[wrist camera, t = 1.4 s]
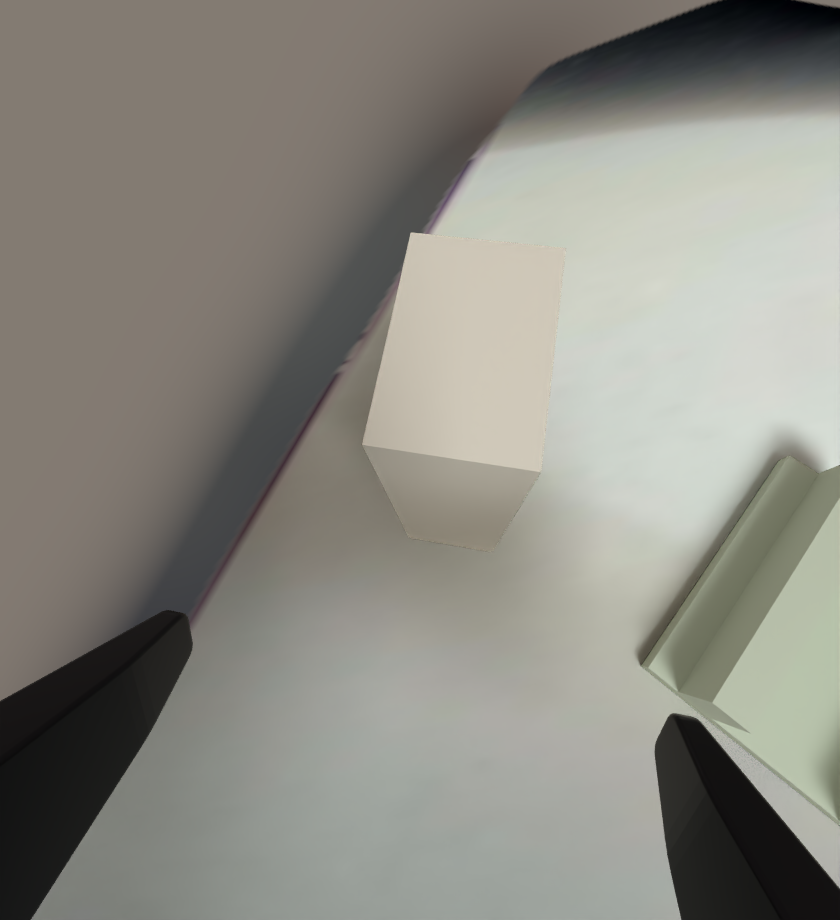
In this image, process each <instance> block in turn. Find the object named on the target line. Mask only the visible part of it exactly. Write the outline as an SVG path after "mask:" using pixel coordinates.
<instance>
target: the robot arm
mask: <svg viewBox="0 0 840 920" xmlns="http://www.w3.org/2000/svg"><path fill="white" fill-rule="evenodd" d="M192 645H193V642H192V636H191V631H190V625H189V620H188V617H187V616H186V614H184V613H180V612H175V611H169V610H166V611H163V612H160V613H159V614H157V615H155V616H153V617H151V618H149V619H148V620H146V621H144V622H142V623H140V624H139V625H137V626H135V627H133V628H131V629H130V630H128V631H126V632H124V633H122V634H120V635H119V636H117V637H115V638H113V639H111V640H110V641H108V642H106V643H104V644H103V645H101V646H99V647H97V648H95V649H93V650H92V651H90V652H88V653H86V654H84V655H83V656H81V657H79V658H77V659H75V660H74V661H72V662H70V663H68V664H67V665H64V666H63V667H61V668H59V669H57V670H55V671H54V672H52V673H50V674H48V675H47V676H45V677H43V678H41V679H39V680H37V681H36V682H34V683H32V684H30V685H28V686H26V687H25V688H23V689H21V690H19V691H18V692H16V693H14V694H12V695H11V696H8V697H7V698H5V699H3V700H1V701H0V920H31V919H32V917H33V915H34V914H35V912H36V911H37V909H38V908H39V906H40V904H41V903H42V901H43V900H44V898H45V897H46V895H47V893H48V892H49V890H50V889H51V887H52V886H53V884H54V883H55V881H56V879H57V878H58V876H59V875H60V873H61V872H62V870H63V868H64V867H65V865H66V864H67V862H68V861H69V859H70V858H71V856H72V854H73V853H74V851H75V850H76V848H77V847H78V845H79V843H80V842H81V840H82V839H83V837H84V836H85V834H86V833H87V831H88V829H89V828H90V826H91V825H92V823H93V822H94V820H95V818H96V817H97V815H98V814H99V812H100V811H101V809H102V808H103V806H104V804H105V803H106V801H107V800H108V798H109V797H110V795H111V793H112V792H113V790H114V789H115V787H116V786H117V784H118V782H119V781H120V779H121V778H122V776H123V775H124V773H125V772H126V770H127V768H128V767H129V765H130V764H131V762H132V761H133V759H134V757H135V756H136V754H137V753H138V751H139V750H140V748H141V747H142V745H143V743H144V742H145V740H146V738H147V737H148V735H149V733H150V732H151V730H152V728H153V726H154V724H155V723H156V721H157V719H158V717H159V715H160V713H161V711H162V709H163V707H164V705H165V703H166V701H167V699H168V697H169V695H170V694H171V692H172V690H173V688H174V686H175V684H176V682H177V680H178V678H179V676H180V674H181V672H182V670H183V668H184V666H185V664H186V663H187V661H188V659H189V657H190V654H191V651H192ZM655 761H656V769H657V777H658V786H659V794H660V802H661V810H662V818H663V826H664V834H665V842H666V849H667V855H668V860H669V865H670V870H671V875H672V880H673V884H674V889H675V893H676V898H677V902H678V907H679V911H680V916H681V920H840V888H839V887H838V886H837V885H836V883H835V882H834V881H833V880H832V879H831V877H830V876H829V875H828V874H827V873H826V871H825V870H824V869H823V868H822V867H821V865H820V864H819V863H818V862H817V861H816V859H815V858H814V857H813V856H812V855H811V853H810V852H809V851H808V850H807V849H806V847H805V846H804V845H803V844H802V843H801V841H800V840H799V839H798V838H797V837H796V835H795V834H794V833H793V832H792V831H791V829H790V828H789V827H788V826H787V825H786V823H785V822H784V821H783V820H782V819H781V817H780V816H779V815H778V814H777V813H776V811H775V810H774V809H773V808H772V807H771V805H770V804H769V803H768V802H767V801H766V799H765V798H764V797H763V796H762V795H761V793H760V792H759V791H758V790H757V789H756V787H755V786H754V785H753V784H752V783H751V781H750V780H749V779H748V778H747V777H746V775H745V774H744V773H743V772H742V771H741V769H740V768H739V767H738V766H737V765H736V763H735V762H734V761H733V760H732V759H731V757H730V756H729V755H728V754H727V753H726V751H725V750H724V749H723V748H722V747H721V745H720V744H719V743H718V742H717V741H716V739H715V738H714V737H713V736H712V735H711V733H710V732H709V731H708V730H707V729H706V727H705V726H704V725H703V724H702V723H701V722H700V721H699V720H698V719H696V718H694V717H691V716H686V715H681V714H676V713H673V714H671V715H669V717H668V718H667V720H666V722H665V724H664V726H663V728H662V730H661V732H660V734H659V736H658V738H657V741H656V744H655Z"/></svg>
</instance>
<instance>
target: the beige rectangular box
mask: <svg viewBox="0 0 840 920" xmlns="http://www.w3.org/2000/svg"><path fill="white" fill-rule="evenodd" d="M565 251H566V248H559V247H549V246H539V245H529V244H519V243H510V242H500V241H490V240H480V239H470V238H460V237H450V236H440V235H430V234H420V233H411V235H410V239H409V244H408V248H407V252H406V256H405V261H404V265H403V269H402V274H401V278H400V282H399V286H398V291H397V295H396V299H395V304H394V308H393V312H392V317H391V321H390V325H389V330H388V334H387V338H386V343H385V347H384V351H383V356H382V360H381V364H380V369H379V373H378V377H377V382H376V386H375V390H374V395H373V399H372V403H371V408H370V412H369V416H368V420H367V425H366V429H365V433H364V438H363V442H362V446H363V448H364V450H365V452H366V454H367V456H368V458H369V460H370V462H371V464H372V466H373V468H374V470H375V472H376V474H377V476H378V478H379V480H380V482H381V484H382V486H383V488H384V489H385V491H386V493H387V495H388V497H389V499H390V501H391V503H392V505H393V507H394V509H395V511H396V513H397V515H398V517H399V519H400V521H401V523H402V525H403V527H404V529H405V531H406V533H407V535H408V537H409V538H412V539H418V540H424V541H430V542H435V543H441V544H447V545H453V546H459V547H464V548H470V549H476V550H482V551H487V552H493V550H494V549H495V547H496V545H497V544H498V542H499V541H500V539H501V537H502V536H503V534H504V532H505V531H506V529H507V527H508V526H509V524H510V522H511V521H512V519H513V518H514V516H515V514H516V513H517V511H518V509H519V508H520V506H521V504H522V503H523V501H524V499H525V498H526V496H527V495H528V493H529V491H530V490H531V488H532V486H533V485H534V483H535V481H536V480H537V478H538V477H539V475H540V473H541V469H542V460H543V451H544V442H545V433H546V424H547V415H548V405H549V396H550V387H551V378H552V369H553V360H554V351H555V342H556V333H557V324H558V315H559V306H560V297H561V288H562V278H563V269H564V260H565Z"/></svg>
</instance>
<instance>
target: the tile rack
mask: <svg viewBox="0 0 840 920" xmlns="http://www.w3.org/2000/svg"><path fill="white" fill-rule="evenodd" d="M641 667H643V668H644V669H645V670H646V671H648V672H649V673H650V674H651V675H653V676H654V677H655V678H656V679H658V680H659V681H660V682H661V683H663V684H664V685H665V686H666V687H668V688H669V689H670V690H671V691H672V692H674V693H675V694H676V695H677V696H679V697H680V698H681V699H682V700H684V701H685V702H686V703H687V704H689V705H690V706H691V707H692V708H694V709H695V710H696V711H697V712H699V713H700V714H701V715H702V716H704V717H705V718H706V719H707V720H709V721H710V722H711V723H712V724H713V725H715V726H716V727H717V728H718V729H720V730H721V731H722V732H723V733H725V734H726V735H727V736H728V737H730V738H731V739H732V740H733V741H735V742H736V743H737V744H738V745H740V746H741V747H742V748H743V749H745V750H746V751H747V752H748V753H750V754H751V755H752V756H753V757H755V758H756V759H757V760H758V761H759V762H761V763H762V764H763V765H764V766H766V767H767V768H768V769H769V770H771V771H772V772H773V773H774V774H776V775H777V776H778V777H779V778H781V779H782V780H783V781H784V782H786V783H787V784H788V785H789V786H791V787H792V788H793V789H794V790H796V791H797V792H798V793H799V794H800V795H802V796H803V797H804V798H805V799H807V800H808V801H809V802H810V803H812V804H813V805H814V806H815V807H817V808H818V809H819V810H820V811H822V812H823V813H824V814H825V815H827V816H828V817H829V818H830V819H832V820H833V821H834V822H835V823H837V824H838V825H839V826H840V465H839V466H836V467H834V468H831V469H829V470H826V471H824V472H821V473H817V472H815V471H814V470H812V469H811V468H809V467H807V466H806V465H804V464H803V463H801V462H800V461H798V460H796V459H795V458H793V457H792V456H790V455H789V456H787V457H785V458H783V459H781V460H779V461H778V462H777V464H776V465H775V467H774V468H773V470H772V471H771V473H770V474H769V476H768V477H767V479H766V480H765V482H764V483H763V485H762V486H761V488H760V489H759V491H758V492H757V494H756V495H755V497H754V498H753V500H752V501H751V503H750V504H749V506H748V507H747V509H746V510H745V512H744V513H743V515H742V516H741V518H740V519H739V521H738V522H737V524H736V525H735V527H734V528H733V530H732V531H731V533H730V534H729V536H728V537H727V539H726V540H725V542H724V543H723V545H722V546H721V547H720V549H719V550H718V552H717V553H716V555H715V556H714V558H713V559H712V561H711V562H710V564H709V565H708V567H707V568H706V570H705V571H704V573H703V574H702V576H701V577H700V579H699V580H698V582H697V583H696V585H695V586H694V588H693V589H692V591H691V592H690V594H689V595H688V597H687V598H686V600H685V601H684V603H683V604H682V606H681V607H680V609H679V610H678V612H677V613H676V615H675V616H674V618H673V619H672V621H671V622H670V624H669V625H668V627H667V628H666V630H665V631H664V633H663V634H662V636H661V637H660V638H659V640H658V641H657V643H656V644H655V646H654V647H653V649H652V650H651V652H650V653H649V655H648V656H647V658H646V659H645V661H644V662H643V664H642V665H641Z"/></svg>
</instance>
